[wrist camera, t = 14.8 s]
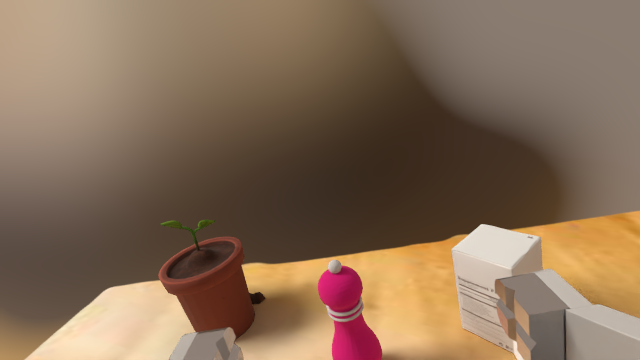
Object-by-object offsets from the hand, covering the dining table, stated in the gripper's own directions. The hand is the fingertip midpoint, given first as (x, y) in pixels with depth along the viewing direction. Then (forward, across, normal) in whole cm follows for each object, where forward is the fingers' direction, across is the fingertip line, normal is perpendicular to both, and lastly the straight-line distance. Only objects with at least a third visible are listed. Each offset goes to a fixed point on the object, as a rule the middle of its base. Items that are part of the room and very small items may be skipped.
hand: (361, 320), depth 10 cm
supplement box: (+35, -19, +36) cm, 54 cm away
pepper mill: (+30, +4, +36) cm, 47 cm away
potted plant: (+49, +32, +36) cm, 69 cm away
